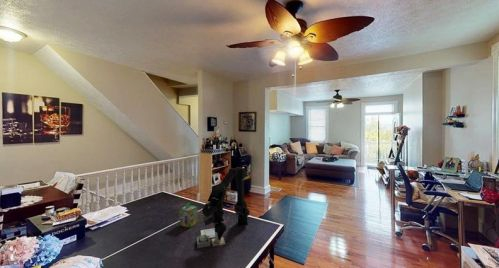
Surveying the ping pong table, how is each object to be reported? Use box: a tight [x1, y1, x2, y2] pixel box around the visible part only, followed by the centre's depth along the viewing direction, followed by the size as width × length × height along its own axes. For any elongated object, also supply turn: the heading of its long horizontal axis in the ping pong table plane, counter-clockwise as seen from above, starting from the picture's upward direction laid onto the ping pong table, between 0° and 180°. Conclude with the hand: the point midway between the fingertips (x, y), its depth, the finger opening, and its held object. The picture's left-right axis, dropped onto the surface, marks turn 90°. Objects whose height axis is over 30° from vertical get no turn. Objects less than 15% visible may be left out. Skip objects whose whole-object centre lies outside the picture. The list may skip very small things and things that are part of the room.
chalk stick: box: [214, 232, 221, 243], centre depth 119 cm, size 4×4×8 cm
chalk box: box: [178, 201, 199, 229], centre depth 140 cm, size 9×9×15 cm
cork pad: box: [210, 236, 226, 247], centre depth 119 cm, size 7×7×1 cm
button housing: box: [196, 235, 211, 249], centre depth 117 cm, size 7×7×2 cm
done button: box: [199, 234, 207, 243], centre depth 117 cm, size 4×4×3 cm
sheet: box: [200, 228, 215, 239], centre depth 128 cm, size 12×10×1 cm
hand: (218, 236), depth 119 cm, fingers open, 8 cm apart
